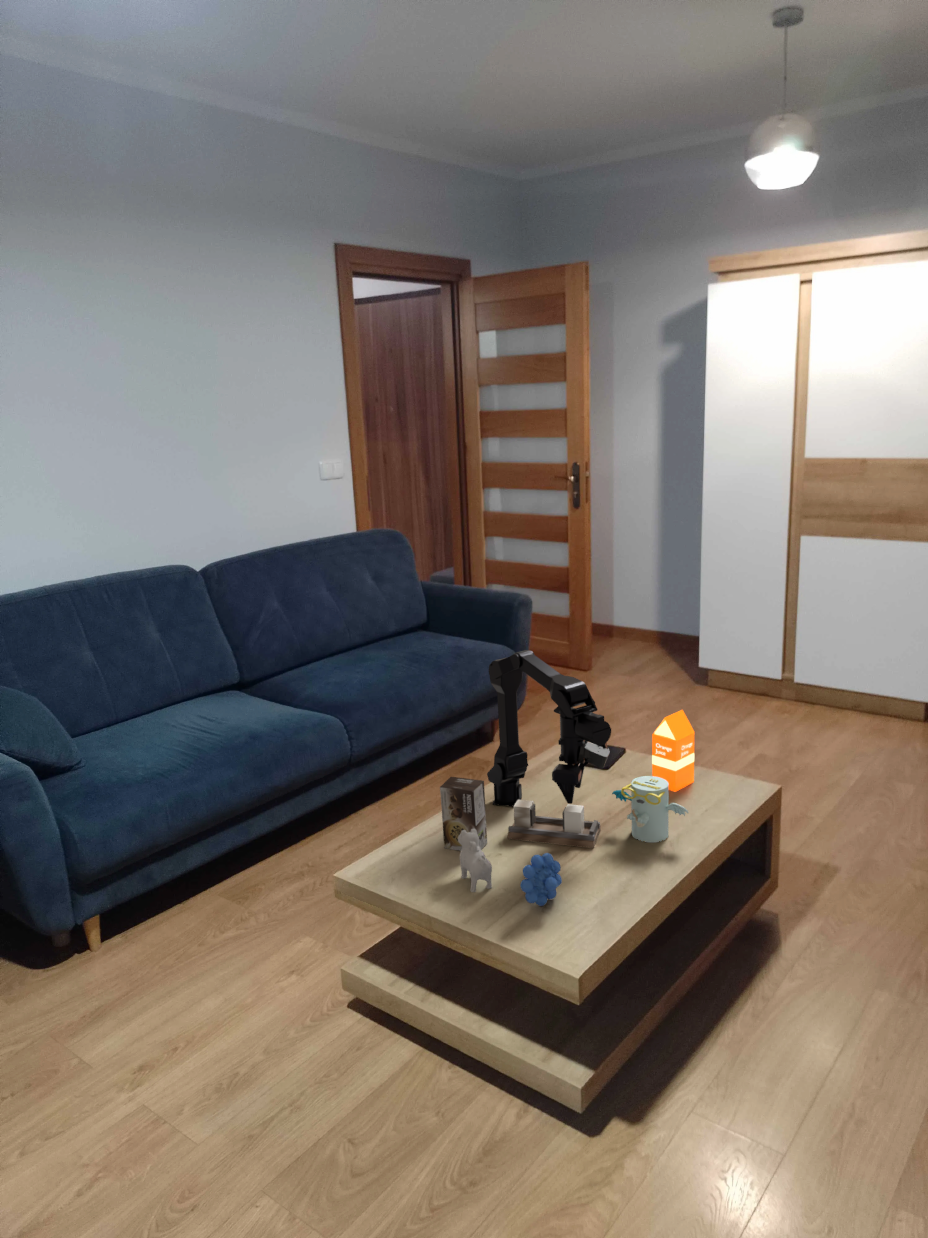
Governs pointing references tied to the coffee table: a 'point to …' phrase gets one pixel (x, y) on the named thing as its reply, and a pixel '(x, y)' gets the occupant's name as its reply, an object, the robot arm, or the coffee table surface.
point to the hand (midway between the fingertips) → (574, 795)
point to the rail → (548, 828)
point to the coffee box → (463, 810)
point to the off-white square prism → (573, 818)
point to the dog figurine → (474, 859)
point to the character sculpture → (649, 807)
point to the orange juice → (674, 751)
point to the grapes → (541, 879)
